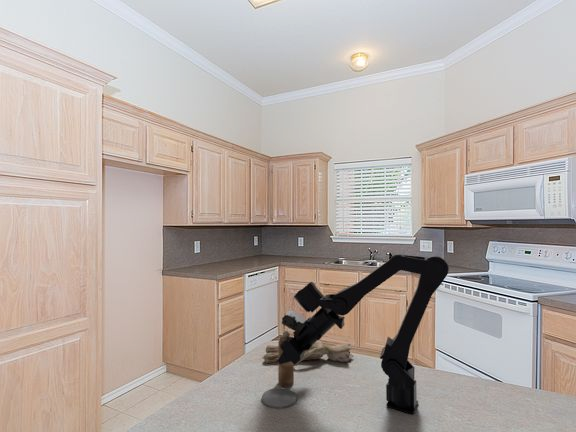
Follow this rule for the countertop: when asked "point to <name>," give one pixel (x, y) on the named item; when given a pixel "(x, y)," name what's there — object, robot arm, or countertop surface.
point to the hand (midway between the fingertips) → (281, 359)
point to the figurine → (315, 353)
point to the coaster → (279, 397)
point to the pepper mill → (285, 366)
